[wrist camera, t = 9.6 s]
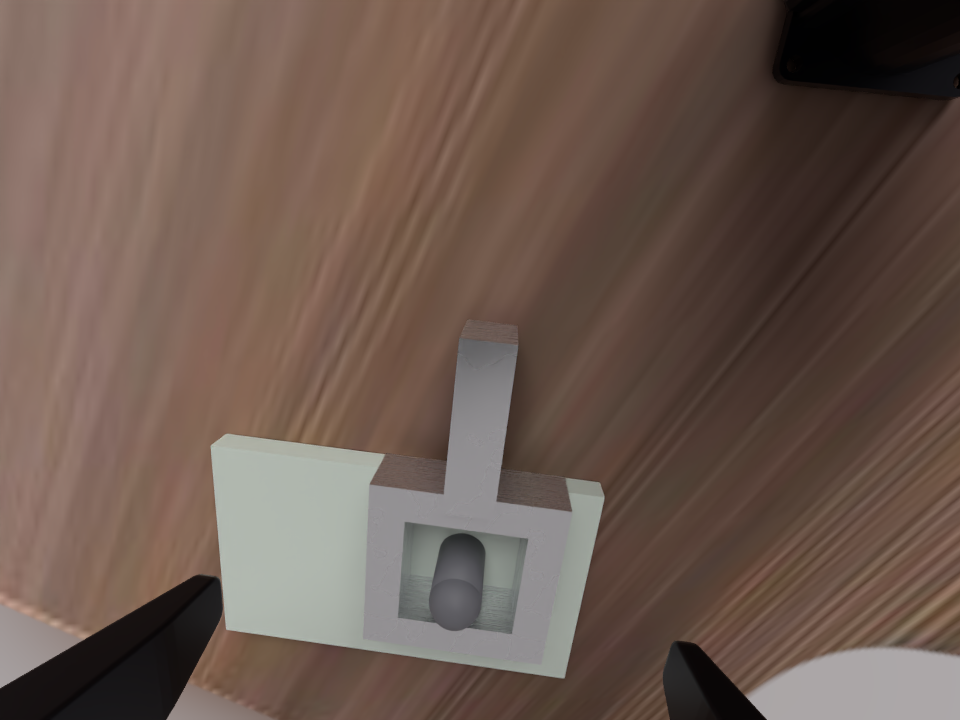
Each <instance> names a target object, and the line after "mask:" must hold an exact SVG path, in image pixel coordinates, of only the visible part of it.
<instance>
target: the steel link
mask: <svg viewBox="0 0 960 720" xmlns="http://www.w3.org/2000/svg"><path fill="white" fill-rule="evenodd" d="M517 352H518V328H517V325H510V324H502V323H494V322H486V321H478V320H470V319H468V320H467V322H466V324H465V326H464V329H463V331H462V333H461V335H460V338H459V346H458V356H457V366H456V376H455V386H454V396H453V406H452V416H451V426H450V436H449V446H448V456H447V461H442V460H435V459H427V458H420V457H412V456H405V455H397V454H390V453H386V454H385V456H384V458H383V460H382V462H381V464H380V465H379V467H378V469H377V471H376V473H375V475H374V477H373V478H372V480H371V482H370V484H369V502H368V527H367V551H366V576H365V600H364V625H363V639H367V640H374V641H381V642H387V643H394V644H401V645H408V646H415V647H422V648H428V649H435V650H442V651H449V652H456V653H462V654H469V655H476V656H483V657H490V658H497V659H503V660H510V661H517V662H524V663H531V664H537V665H541V664H542V659H543V654H544V649H545V644H546V639H547V634H548V629H549V624H550V620H551V615H552V610H553V605H554V600H555V595H556V590H557V585H558V580H559V576H560V571H561V566H562V561H563V556H564V551H565V546H566V541H567V536H568V532H569V527H570V522H571V517H572V507H571V503H570V498H569V493H568V488H567V484H566V479H565V477H562V476H555V475H547V474H540V473H532V472H525V471H517V470H510V469H502V468H501V465H502V458H503V451H504V444H505V437H506V430H507V423H508V416H509V408H510V401H511V394H512V387H513V380H514V373H515V366H516V359H517ZM414 523H418V524H425V525H432V526H440V527H447V528H454V529H461V530H469V531H476V532H483V533H490V534H498V535H505V536H512V537H519V538H520V543H519V549H518V555H517V561H516V567H515V573H514V579H513V585H512V589H509V588H502V587H495V586H488V585H483V593H482V605H481V610H480V613H479V615H478V617H477V618H476V620H475V621H474V622H473V623H472V624H471V625H470V626H469V627H467V628H465V629H463V630H460V631H450V630H446V629H444V628H442V627H441V626H439V625H438V624H437V623H436V622H435V620H434V619H433V617H432V615H431V612H430V608H429V595H430V590H431V586H432V581H433V578H431V577H424V576H417V575H410V571H411V558H412V545H413V533H414Z"/></svg>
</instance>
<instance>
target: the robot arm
mask: <svg viewBox="0 0 960 720" xmlns="http://www.w3.org/2000/svg"><path fill="white" fill-rule="evenodd" d="M784 3H785V6H786V9H787V11H788V13H787V16H786V20H785V24H784V28H783V31H782V35H781V39H780V43H779V46H778V50H777V54H776V58H775V61H774V65H773V75H774V78H775V79H776V81H777V82H779V83H782V84H788V85H798V86H808V87H818V88H828V89H838V90H847V91H857V92H867V93H877V94H887V95H897V96H907V97H917V98H927V99H937V100H951V99H955V98H958V97H960V0H784ZM789 59H791V60H793V61H794V62H795V64H796V67H795V70H794V72H793V73H792V72H790V71H788V69H787V62H788V60H789ZM956 76H957V77H958V79H959V83H958V86H957V87H956V88H955V87H954V85H953V81H954V78H955V77H956ZM222 611H223V604H222V592H221V582H220V579H219V578H218V577H216V576H210V575H203V574H199V575H196V576H193V577H192V578H190V579H188V580H186V581H185V582H183V583H181V584H179V585H178V586H176V587H174V588H173V589H171V590H169V591H167V592H166V593H164V594H162V595H160V596H159V597H157V598H155V599H154V600H152V601H150V602H148V603H147V604H145V605H143V606H141V607H140V608H138V609H136V610H135V611H133V612H131V613H129V614H128V615H126V616H124V617H123V618H121V619H119V620H117V621H116V622H114V623H112V624H110V625H109V626H107V627H105V628H104V629H102V630H100V631H98V632H97V633H95V634H93V635H91V636H90V637H88V638H86V639H85V640H83V641H81V642H79V643H78V644H76V645H74V646H72V647H71V648H69V649H68V650H66V651H64V652H62V653H60V654H59V655H57V656H55V657H54V658H52V659H50V660H49V661H47V662H45V663H43V664H41V665H40V666H38V667H36V668H35V669H33V670H31V671H29V672H28V673H26V674H24V675H22V676H21V677H19V678H17V679H16V680H14V681H12V682H10V683H9V684H7V685H5V686H3V687H2V688H0V720H166V719H167V717H168V716H169V714H170V712H171V711H172V709H173V708H174V706H175V704H176V702H177V701H178V699H179V697H180V695H181V693H182V692H183V690H184V688H185V686H186V684H187V682H188V680H189V678H190V676H191V674H192V673H193V671H194V669H195V667H196V665H197V663H198V661H199V659H200V657H201V655H202V654H203V652H204V650H205V648H206V646H207V644H208V642H209V640H210V638H211V636H212V635H213V633H214V631H215V629H216V627H217V625H218V623H219V621H220V618H221V615H222ZM663 685H664V691H665V696H666V701H667V706H668V712H669V717H670V720H767V719H766V718H765V717H764V716H763V715H762V714H761V713H760V712H759V711H758V710H757V709H756V707H755V706H754V705H753V704H752V703H751V702H750V701H749V700H748V699H747V698H746V697H745V696H744V694H743V693H742V692H741V691H740V690H739V689H738V688H737V687H736V686H735V685H734V684H733V683H732V681H731V680H730V679H729V678H728V677H727V676H726V675H725V674H724V673H723V672H722V671H721V670H720V668H719V667H718V666H717V665H716V664H715V663H714V662H713V661H712V660H711V659H710V658H709V657H708V656H707V654H706V653H705V652H704V651H703V650H702V649H701V648H700V647H699V646H698V645H696V644H695V643H691V642H684V641H674V642H673V643H672V645H671V648H670V651H669V654H668V657H667V661H666V664H665V667H664V671H663Z"/></svg>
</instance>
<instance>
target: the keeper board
mask: <svg viewBox="0 0 960 720" xmlns="http://www.w3.org/2000/svg"><path fill="white" fill-rule="evenodd" d="M211 456H212V467H213V479H214V491H215V503H216V515H217V526H218V538H219V550H220V562H221V573H222V585H223V597H224V609H225V621H226V630H232V631H239V632H246V633H253V634H260V635H267V636H274V637H281V638H288V639H294V640H301V641H308V642H315V643H322V644H329V645H336V646H343V647H350V648H357V649H364V650H370V651H377V652H384V653H391V654H398V655H405V656H412V657H419V658H426V659H433V660H440V661H446V662H453V663H460V664H467V665H474V666H481V667H488V668H495V669H502V670H509V671H516V672H522V673H529V674H536V675H543V676H550V677H557V678H565V673H566V669H567V664H568V660H569V655H570V651H571V646H572V642H573V637H574V633H575V628H576V624H577V619H578V615H579V610H580V606H581V601H582V597H583V593H584V588H585V584H586V579H587V575H588V570H589V566H590V561H591V557H592V552H593V548H594V543H595V539H596V534H597V530H598V525H599V521H600V516H601V512H602V507H603V503H604V499H605V497H604V494H603V491H602V488H601V485H600V482H593V481H586V480H578V479H570V478H565V479H566V484H567V488H568V493H569V498H570V503H571V507H572V517H571V522H570V527H569V532H568V536H567V541H566V546H565V551H564V556H563V561H562V566H561V571H560V576H559V580H558V585H557V590H556V595H555V600H554V605H553V610H552V615H551V620H550V624H549V629H548V634H547V639H546V644H545V649H544V654H543V659H542V664H541V665H537V664H531V663H524V662H517V661H510V660H503V659H497V658H490V657H483V656H476V655H469V654H462V653H456V652H449V651H442V650H435V649H428V648H422V647H415V646H408V645H401V644H394V643H387V642H381V641H374V640H367V639H363V625H364V600H365V576H366V551H367V527H368V502H369V484H370V482H371V480H372V478H373V477H374V475H375V473H376V471H377V469H378V467H379V465H380V464H381V462H382V460H383V458H384V456H385V454H379V453H371V452H363V451H356V450H348V449H340V448H333V447H325V446H317V445H310V444H302V443H294V442H287V441H279V440H271V439H264V438H256V437H248V436H241V435H233V434H225V435H224V436H223V437H221V438H220V439H219V440H217V441H216V442H215V443H213V444H212V445H211ZM519 543H520V538H519V537H512V536H505V535H498V534H490V533H483V532H476V531H469V530H461V529H454V528H447V527H440V526H432V525H425V524H418V523H414V533H413V545H412V558H411V571H410V575H417V576H424V577H431V578H433V581H432V586H431V590H430V595H429V608H430V612H431V615H432V617H433V619H434V620H435V622H436V623H437V624H438V625H439V626H441V627H442V628H444V629H446V630H450V631H460V630H463V629H465V628H467V627H469V626H470V625H471V624H472V623H473V622H474V621H475V620H476V618H477V617H478V615H479V613H480V610H481V605H482V593H483V585H488V586H495V587H502V588H509V589H512V585H513V579H514V573H515V567H516V561H517V555H518V549H519Z"/></svg>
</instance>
